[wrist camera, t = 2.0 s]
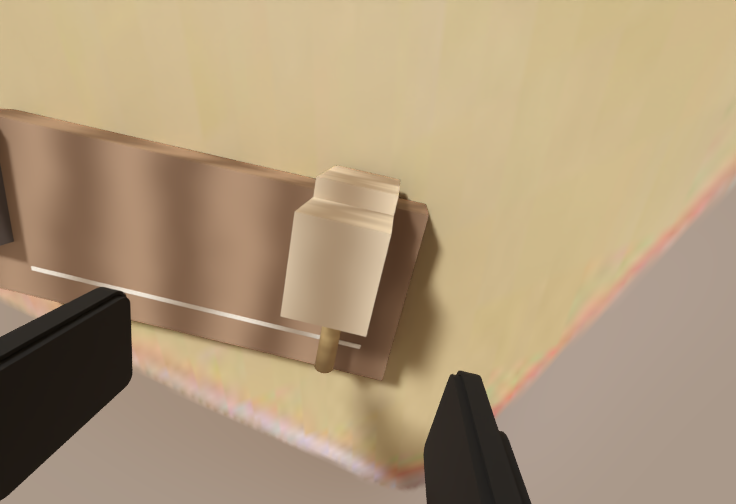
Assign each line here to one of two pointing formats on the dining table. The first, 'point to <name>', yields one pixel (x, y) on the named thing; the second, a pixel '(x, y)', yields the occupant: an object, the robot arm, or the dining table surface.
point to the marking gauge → (339, 255)
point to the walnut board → (175, 238)
